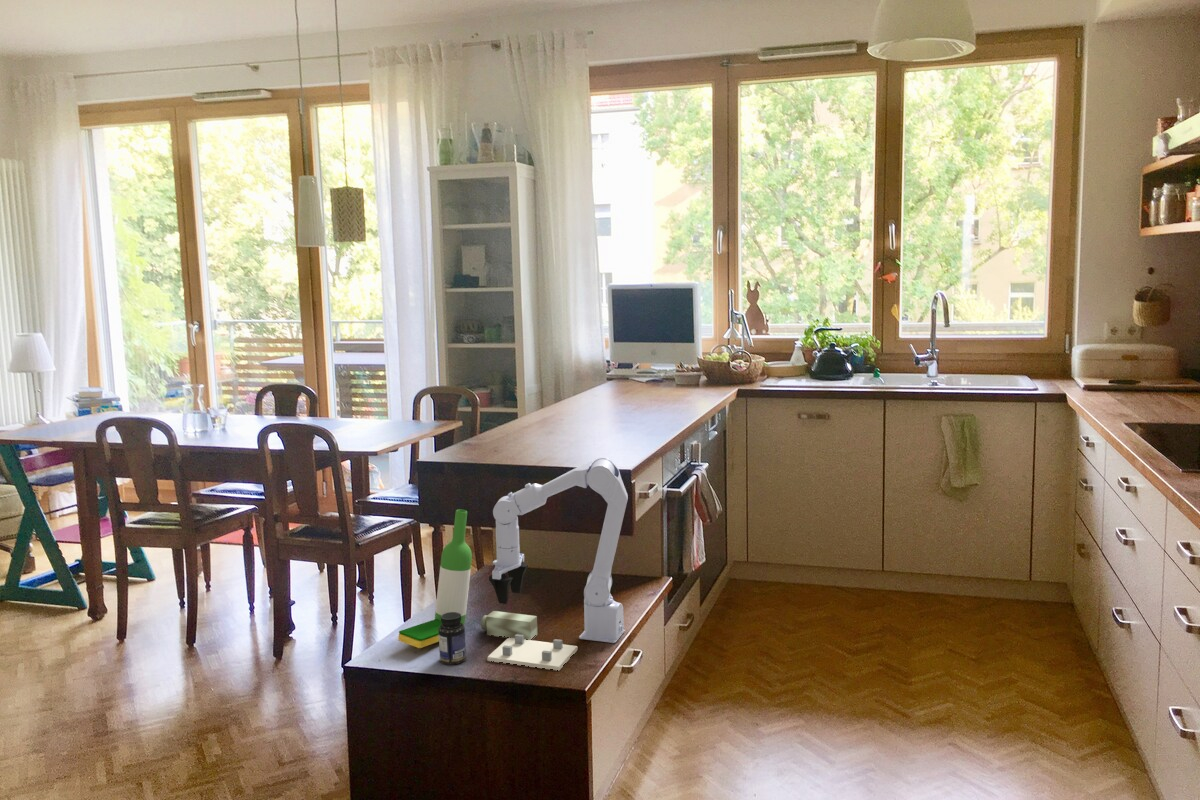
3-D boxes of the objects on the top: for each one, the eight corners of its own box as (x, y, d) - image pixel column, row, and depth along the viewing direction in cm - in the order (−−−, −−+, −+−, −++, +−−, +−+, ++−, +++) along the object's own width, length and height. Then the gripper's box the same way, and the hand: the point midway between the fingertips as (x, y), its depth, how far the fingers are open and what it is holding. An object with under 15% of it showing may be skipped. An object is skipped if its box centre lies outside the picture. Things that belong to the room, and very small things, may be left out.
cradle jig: (577, 650, 234) (577, 638, 234) (559, 670, 223) (558, 658, 222) (508, 641, 240) (508, 629, 239) (487, 660, 229) (487, 648, 228)
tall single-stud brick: (537, 635, 244) (536, 616, 243) (530, 641, 240) (530, 622, 239) (488, 628, 248) (487, 610, 248) (481, 634, 245) (480, 615, 244)
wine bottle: (429, 627, 246) (441, 510, 243) (441, 618, 254) (453, 505, 251) (457, 633, 244) (470, 515, 241) (469, 623, 252) (481, 510, 249)
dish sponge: (397, 640, 235) (398, 630, 235) (435, 627, 247) (436, 618, 247) (419, 649, 231) (420, 639, 231) (457, 635, 243) (458, 626, 243)
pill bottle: (467, 654, 233) (465, 610, 231) (464, 665, 227) (462, 620, 225) (441, 655, 232) (439, 611, 231) (438, 666, 226) (436, 621, 225)
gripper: (505, 535, 249) (507, 586, 251) (480, 552, 236) (482, 606, 238) (531, 537, 247) (532, 589, 249) (506, 555, 233) (508, 609, 235)
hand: (509, 597), depth 243 cm, fingers open, 7 cm apart
